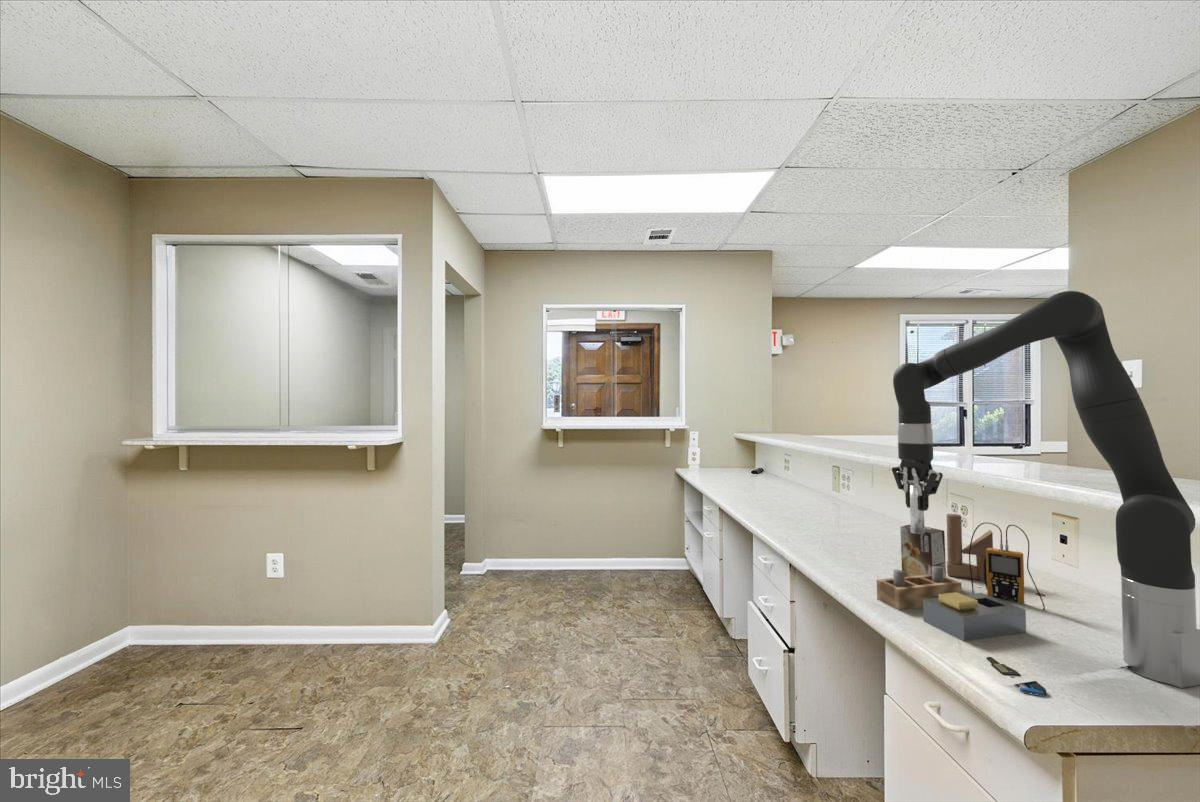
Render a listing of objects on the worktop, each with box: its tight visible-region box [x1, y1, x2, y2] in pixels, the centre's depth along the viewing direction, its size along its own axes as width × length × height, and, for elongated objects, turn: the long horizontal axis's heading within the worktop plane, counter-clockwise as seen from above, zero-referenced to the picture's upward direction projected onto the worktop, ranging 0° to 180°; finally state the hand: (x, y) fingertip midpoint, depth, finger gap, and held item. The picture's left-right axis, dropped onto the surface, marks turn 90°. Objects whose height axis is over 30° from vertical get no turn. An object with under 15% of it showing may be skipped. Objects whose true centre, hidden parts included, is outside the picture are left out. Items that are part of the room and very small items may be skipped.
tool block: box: [922, 592, 1027, 642], centre depth 110 cm, size 16×10×6 cm, turn 102°
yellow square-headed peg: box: [939, 592, 978, 611], centre depth 109 cm, size 5×5×6 cm
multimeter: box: [968, 522, 1046, 611], centre depth 123 cm, size 15×10×20 cm
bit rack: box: [876, 566, 963, 611], centre depth 125 cm, size 19×7×9 cm, turn 102°
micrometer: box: [985, 656, 1047, 696], centre depth 92 cm, size 12×2×5 cm
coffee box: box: [899, 524, 947, 577], centre depth 138 cm, size 9×6×16 cm
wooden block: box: [946, 513, 994, 582], centre depth 144 cm, size 4×11×18 cm, turn 59°
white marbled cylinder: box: [909, 485, 925, 534], centre depth 125 cm, size 3×3×12 cm
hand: (916, 508), depth 125 cm, fingers closed on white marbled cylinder, 3 cm apart
